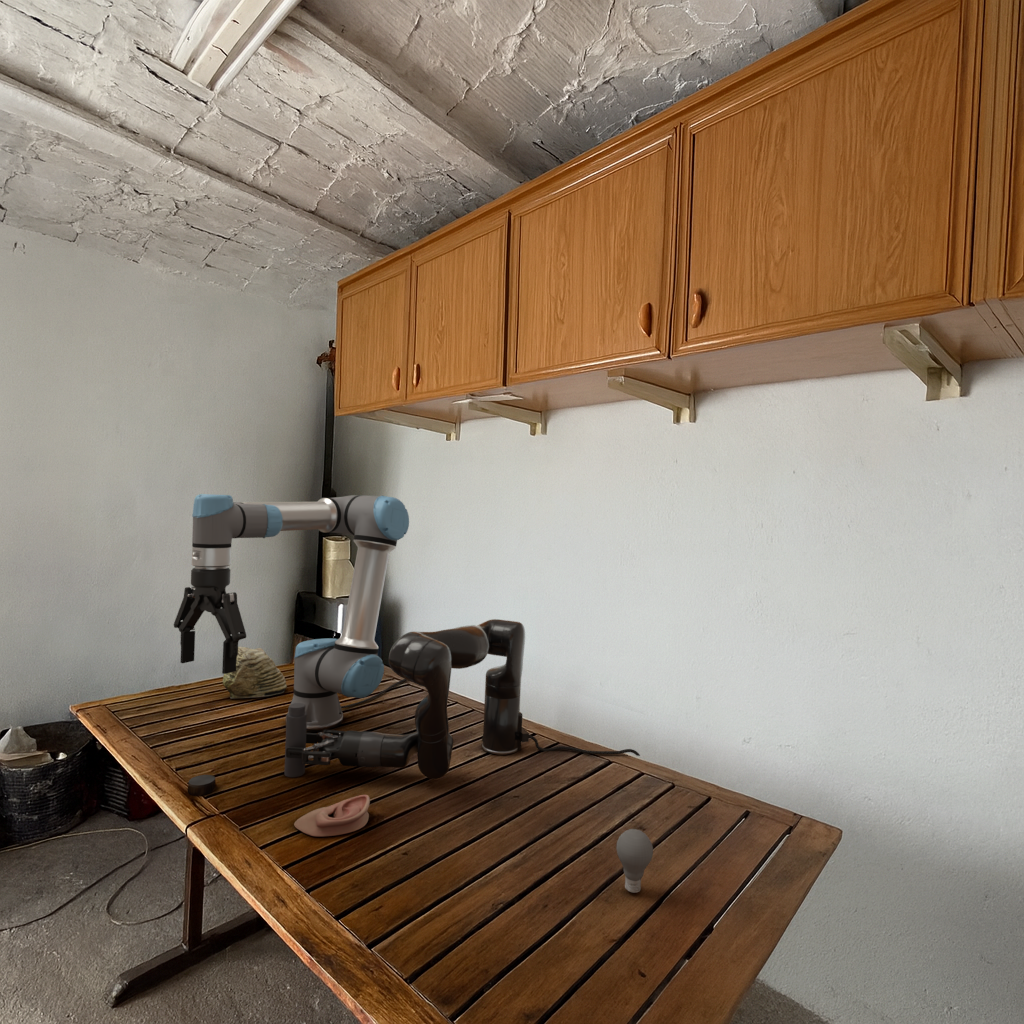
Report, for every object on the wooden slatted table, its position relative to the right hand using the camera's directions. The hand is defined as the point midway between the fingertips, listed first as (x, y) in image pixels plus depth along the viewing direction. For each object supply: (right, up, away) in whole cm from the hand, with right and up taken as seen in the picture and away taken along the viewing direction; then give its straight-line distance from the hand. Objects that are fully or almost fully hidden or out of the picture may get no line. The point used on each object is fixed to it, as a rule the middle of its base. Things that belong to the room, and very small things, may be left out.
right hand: (294, 744), depth 145 cm
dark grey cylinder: (0, -6, 0) cm, 6 cm away
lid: (-16, -4, -10) cm, 19 cm away
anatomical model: (+15, -7, -21) cm, 27 cm away
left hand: (-15, +20, -10) cm, 27 cm away
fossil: (-31, -4, +53) cm, 62 cm away
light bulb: (+70, -10, -39) cm, 81 cm away
